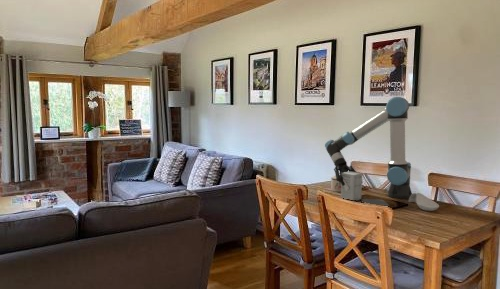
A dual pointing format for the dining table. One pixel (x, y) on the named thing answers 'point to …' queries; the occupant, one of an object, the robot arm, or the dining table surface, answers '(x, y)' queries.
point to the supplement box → (352, 185)
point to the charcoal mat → (375, 201)
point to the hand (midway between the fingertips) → (354, 188)
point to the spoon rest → (423, 202)
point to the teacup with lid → (335, 185)
